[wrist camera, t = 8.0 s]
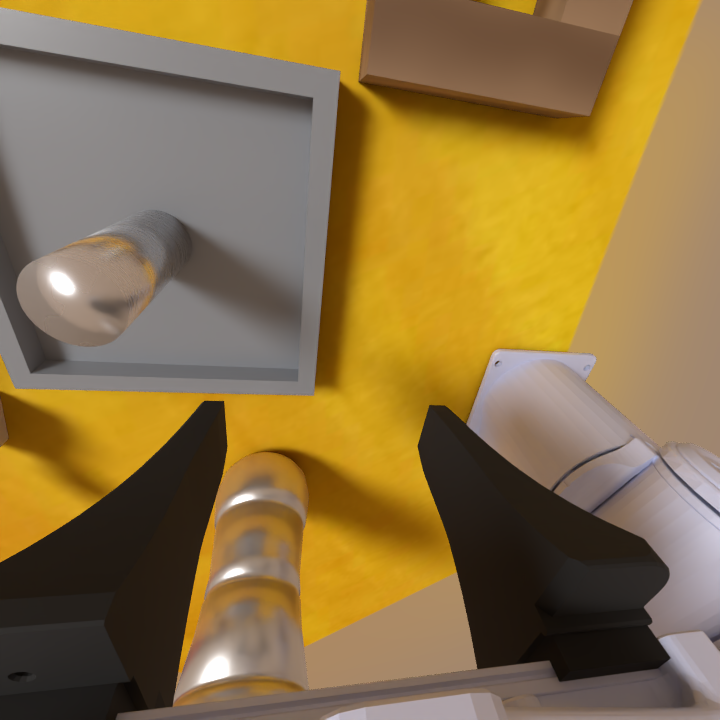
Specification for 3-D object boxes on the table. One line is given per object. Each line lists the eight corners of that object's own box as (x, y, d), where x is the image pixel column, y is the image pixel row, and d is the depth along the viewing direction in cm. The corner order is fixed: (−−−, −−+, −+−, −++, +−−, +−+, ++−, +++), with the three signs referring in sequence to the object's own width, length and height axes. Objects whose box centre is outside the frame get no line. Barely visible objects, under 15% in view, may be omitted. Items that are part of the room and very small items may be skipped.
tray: (312, 377, 24) (313, 395, 23) (38, 368, 21) (15, 388, 20) (336, 78, 16) (340, 71, 14) (-103, -3, 13) (-163, -24, 11)
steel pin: (192, 276, 19) (131, 352, 12) (128, 265, 18) (27, 339, 12) (192, 217, 18) (124, 267, 11) (123, 202, 17) (5, 246, 10)
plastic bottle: (313, 441, 27) (332, 940, 10) (303, 501, 31) (305, 950, 14) (223, 437, 26) (74, 1003, 9) (222, 500, 29) (115, 998, 12)
